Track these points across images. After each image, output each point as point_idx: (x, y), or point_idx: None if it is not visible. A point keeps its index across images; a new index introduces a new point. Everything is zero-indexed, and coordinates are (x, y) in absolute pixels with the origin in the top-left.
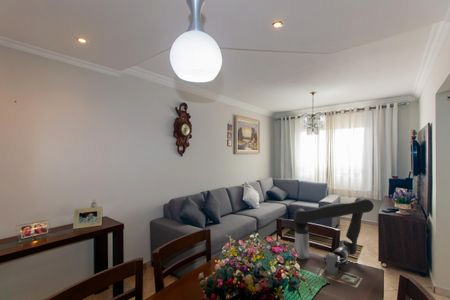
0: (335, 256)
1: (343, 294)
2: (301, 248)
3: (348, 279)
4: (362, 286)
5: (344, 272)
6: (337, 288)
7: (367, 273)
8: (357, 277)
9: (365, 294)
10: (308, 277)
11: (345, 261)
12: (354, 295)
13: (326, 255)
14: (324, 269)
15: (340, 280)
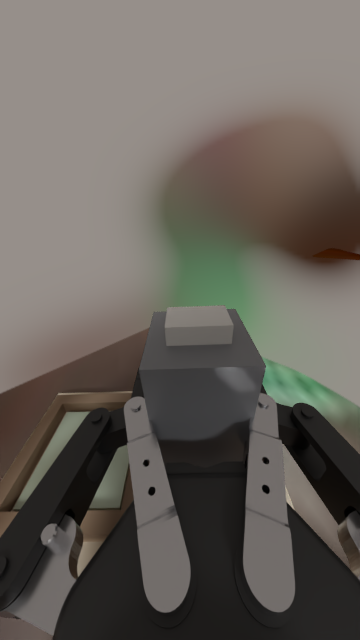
0: (156, 333)
1: (119, 344)
2: None
3: None
4: (13, 444)
5: (108, 519)
6: (141, 359)
7: None
8: (2, 494)
9: (33, 383)
10: (268, 360)
11: (51, 465)
12: (82, 357)
13: (235, 313)
14: (288, 495)
15: None
